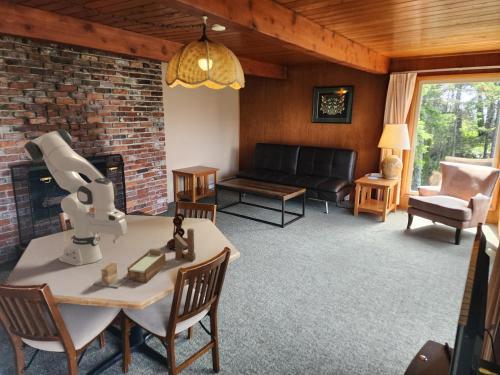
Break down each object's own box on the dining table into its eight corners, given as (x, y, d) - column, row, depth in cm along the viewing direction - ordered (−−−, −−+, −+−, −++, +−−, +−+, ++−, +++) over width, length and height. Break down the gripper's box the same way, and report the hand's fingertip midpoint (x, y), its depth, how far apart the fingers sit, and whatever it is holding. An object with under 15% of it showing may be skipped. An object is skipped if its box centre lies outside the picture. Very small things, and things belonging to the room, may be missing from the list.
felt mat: (93, 284, 166) (93, 283, 166) (102, 277, 173) (102, 276, 173) (117, 288, 163) (117, 287, 163) (126, 281, 170) (126, 280, 170)
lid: (129, 270, 169) (128, 263, 168) (150, 254, 188) (149, 247, 187) (144, 272, 167) (144, 265, 167) (163, 256, 186) (163, 249, 185)
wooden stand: (177, 256, 198) (176, 226, 194) (195, 258, 196) (195, 228, 192) (175, 259, 195) (174, 229, 190) (193, 261, 192) (192, 230, 188)
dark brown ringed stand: (170, 241, 220) (168, 211, 215) (193, 241, 220) (192, 211, 216) (164, 251, 206) (163, 218, 201) (189, 251, 206) (188, 219, 201)
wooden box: (128, 280, 171) (127, 267, 169) (149, 263, 190) (148, 251, 188) (146, 282, 168) (146, 270, 167) (165, 265, 187) (165, 253, 186)
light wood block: (102, 284, 165) (100, 269, 163) (111, 277, 172) (110, 262, 170) (108, 285, 164) (107, 270, 162) (117, 278, 171) (116, 263, 169)
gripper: (80, 213, 159) (82, 241, 162) (120, 218, 155) (121, 246, 158) (89, 209, 165) (91, 236, 168) (128, 213, 161) (129, 241, 164)
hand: (106, 241), depth 163 cm, fingers open, 8 cm apart
